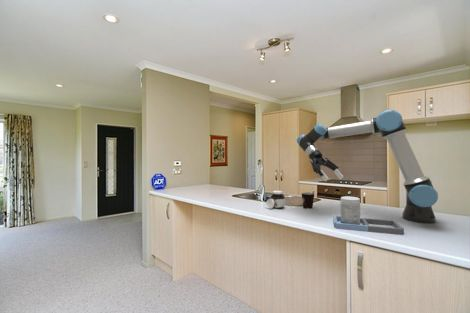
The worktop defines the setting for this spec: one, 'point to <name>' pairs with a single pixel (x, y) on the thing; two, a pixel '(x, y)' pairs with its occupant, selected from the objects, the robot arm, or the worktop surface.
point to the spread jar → (276, 200)
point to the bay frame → (366, 227)
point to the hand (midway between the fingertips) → (334, 179)
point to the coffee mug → (307, 200)
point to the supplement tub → (350, 210)
